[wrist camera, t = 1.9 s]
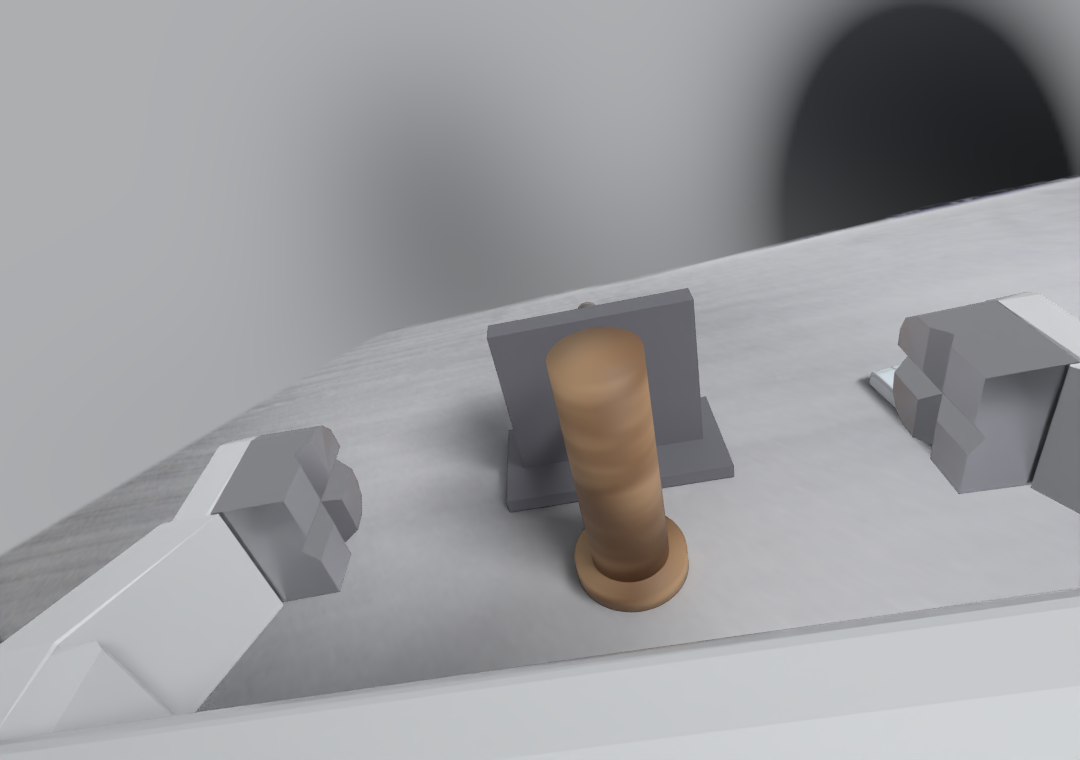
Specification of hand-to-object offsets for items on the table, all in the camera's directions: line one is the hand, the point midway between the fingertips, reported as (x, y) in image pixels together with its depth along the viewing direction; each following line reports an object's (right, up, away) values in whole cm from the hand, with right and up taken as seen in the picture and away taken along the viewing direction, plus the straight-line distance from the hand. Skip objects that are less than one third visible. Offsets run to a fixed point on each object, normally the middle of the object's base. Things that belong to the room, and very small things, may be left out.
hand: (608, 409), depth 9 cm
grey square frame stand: (+3, -4, +27) cm, 27 cm away
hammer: (+3, -5, +26) cm, 26 cm away
